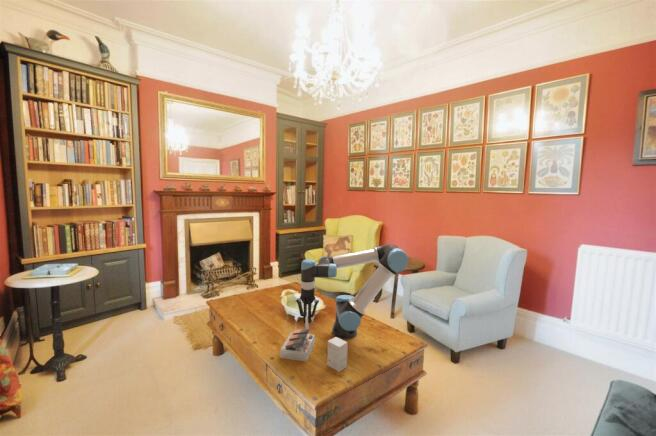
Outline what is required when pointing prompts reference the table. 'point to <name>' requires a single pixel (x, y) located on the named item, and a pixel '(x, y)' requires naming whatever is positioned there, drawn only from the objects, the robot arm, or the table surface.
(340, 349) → the small box
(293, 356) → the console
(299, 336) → the rocker
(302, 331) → the rocker
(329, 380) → the table surface
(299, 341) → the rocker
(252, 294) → the table surface
